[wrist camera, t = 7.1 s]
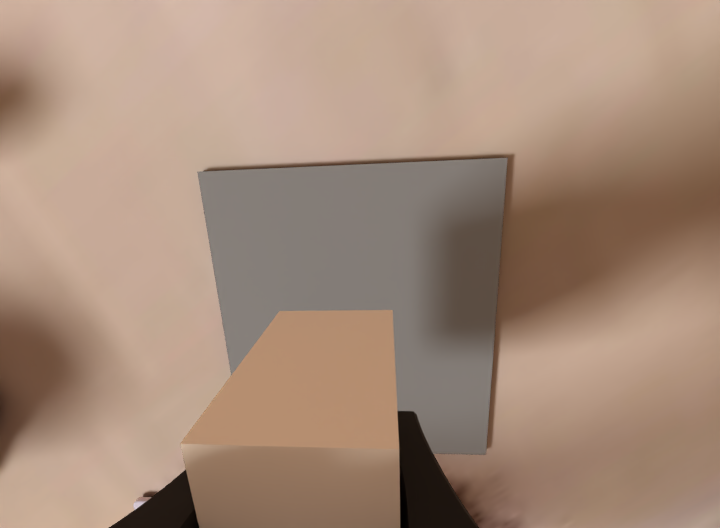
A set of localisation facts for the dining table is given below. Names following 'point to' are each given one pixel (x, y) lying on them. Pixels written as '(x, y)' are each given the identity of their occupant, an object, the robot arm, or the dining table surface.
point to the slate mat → (373, 269)
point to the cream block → (303, 429)
